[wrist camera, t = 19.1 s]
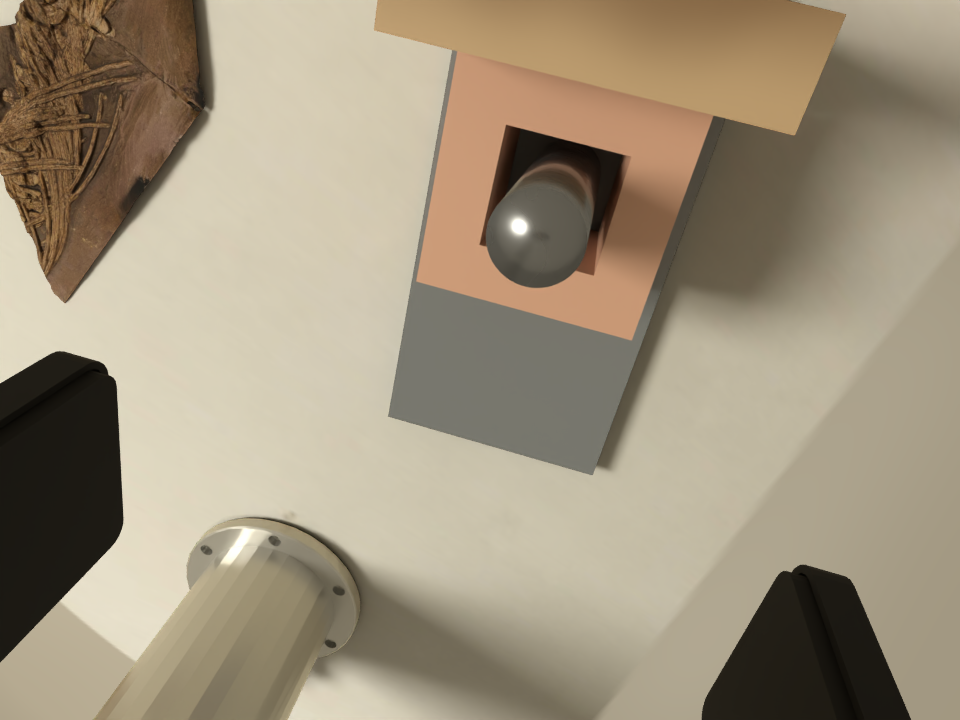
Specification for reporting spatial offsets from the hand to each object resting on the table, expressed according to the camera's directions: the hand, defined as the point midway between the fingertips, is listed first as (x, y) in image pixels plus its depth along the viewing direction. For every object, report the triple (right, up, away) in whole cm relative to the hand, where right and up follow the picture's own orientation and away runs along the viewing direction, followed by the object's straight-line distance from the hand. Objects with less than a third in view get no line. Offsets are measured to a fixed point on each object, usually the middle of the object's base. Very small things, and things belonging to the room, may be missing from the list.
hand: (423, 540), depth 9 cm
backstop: (+6, +16, +18) cm, 25 cm away
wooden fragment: (-19, +16, +25) cm, 35 cm away
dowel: (+5, +11, +21) cm, 24 cm away
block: (+5, +11, +21) cm, 24 cm away
